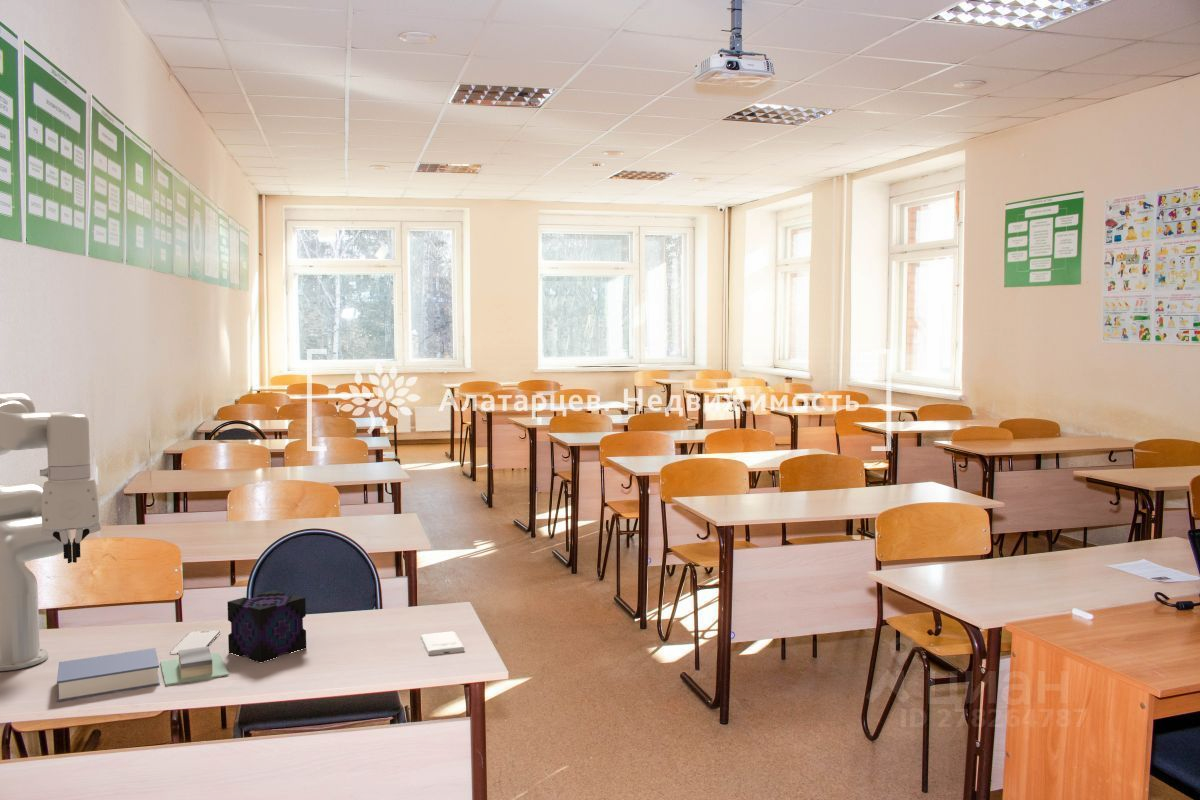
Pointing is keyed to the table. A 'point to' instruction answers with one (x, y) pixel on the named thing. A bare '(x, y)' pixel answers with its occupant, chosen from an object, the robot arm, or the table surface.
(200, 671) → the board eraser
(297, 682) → the table surface
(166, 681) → the mat
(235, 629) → the energy cube
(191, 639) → the smartphone
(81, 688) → the textbook
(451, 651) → the external hard drive
